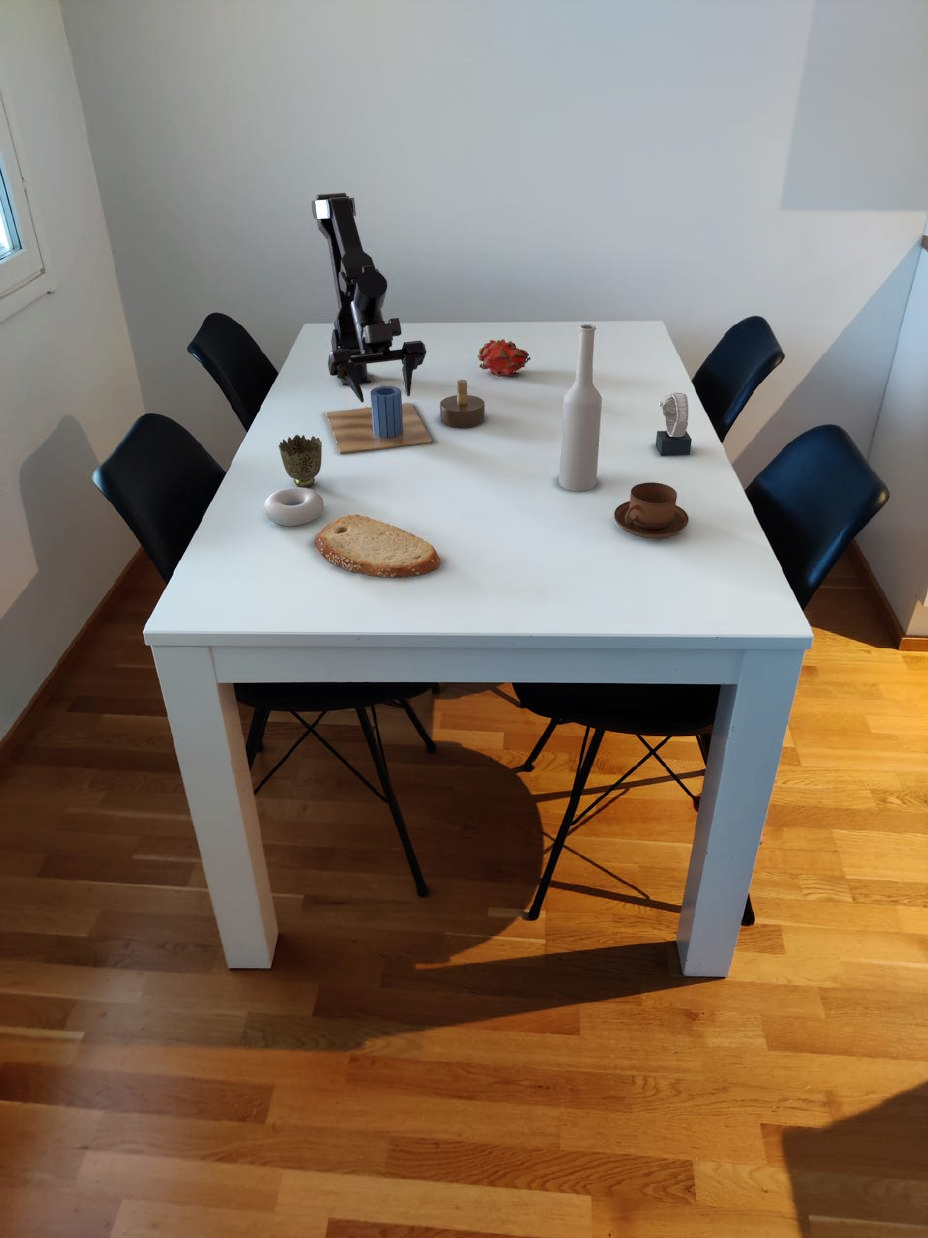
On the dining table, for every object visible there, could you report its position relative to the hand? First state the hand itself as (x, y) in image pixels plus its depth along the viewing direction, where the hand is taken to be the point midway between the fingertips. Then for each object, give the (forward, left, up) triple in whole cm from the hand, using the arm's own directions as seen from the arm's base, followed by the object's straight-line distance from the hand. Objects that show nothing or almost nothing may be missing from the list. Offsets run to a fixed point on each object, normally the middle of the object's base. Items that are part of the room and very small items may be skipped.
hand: (385, 398), depth 182 cm
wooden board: (-3, -2, -7) cm, 8 cm away
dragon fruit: (-25, +32, -8) cm, 41 cm away
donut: (+29, -21, -7) cm, 37 cm away
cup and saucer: (+49, +34, -7) cm, 60 cm away
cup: (+18, -19, -7) cm, 27 cm away
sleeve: (0, 0, -7) cm, 7 cm away
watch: (+23, +50, -7) cm, 56 cm away
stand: (-3, +16, -7) cm, 18 cm away
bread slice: (+45, -10, -7) cm, 46 cm away
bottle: (+31, +29, -7) cm, 42 cm away
